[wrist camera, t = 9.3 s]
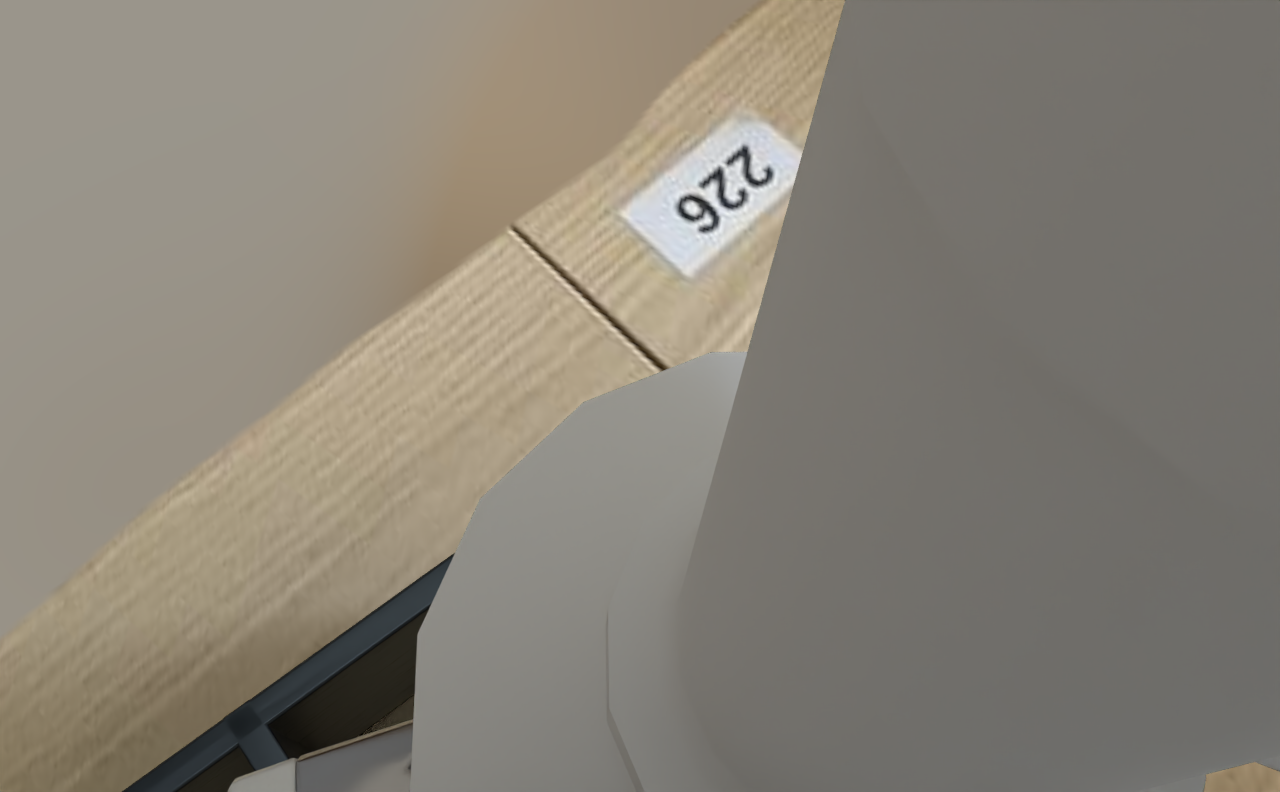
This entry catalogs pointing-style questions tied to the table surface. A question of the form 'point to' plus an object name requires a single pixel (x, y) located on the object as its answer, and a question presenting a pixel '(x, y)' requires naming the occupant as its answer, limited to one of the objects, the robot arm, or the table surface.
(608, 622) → the bottle
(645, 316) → the table surface
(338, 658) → the rack
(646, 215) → the table surface
